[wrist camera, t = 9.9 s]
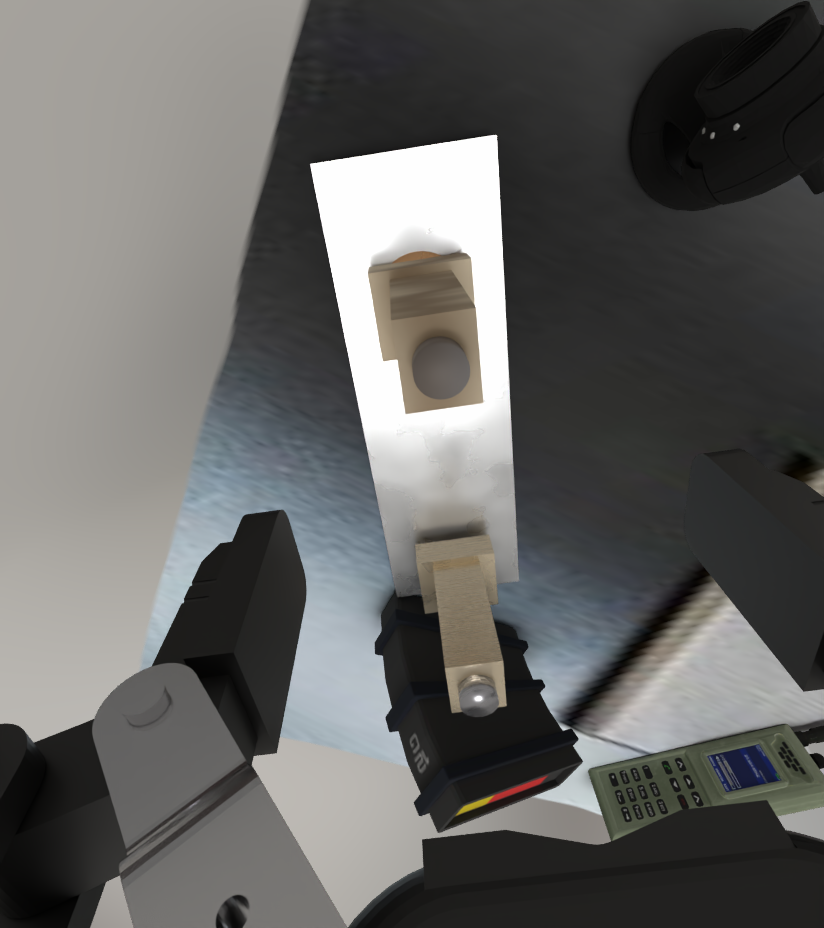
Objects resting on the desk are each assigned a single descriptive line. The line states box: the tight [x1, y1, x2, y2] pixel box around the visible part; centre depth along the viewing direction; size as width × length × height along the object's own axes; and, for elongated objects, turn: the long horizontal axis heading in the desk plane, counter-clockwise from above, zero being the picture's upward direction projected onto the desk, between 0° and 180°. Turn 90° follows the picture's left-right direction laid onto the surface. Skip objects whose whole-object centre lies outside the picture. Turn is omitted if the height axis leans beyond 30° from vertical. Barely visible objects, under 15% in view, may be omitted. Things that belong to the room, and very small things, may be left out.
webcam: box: [631, 1, 824, 211], centre depth 22 cm, size 8×8×10 cm
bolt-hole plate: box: [310, 135, 519, 717], centre depth 28 cm, size 9×28×13 cm, turn 8°
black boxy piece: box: [375, 592, 583, 833], centre depth 37 cm, size 4×13×15 cm, turn 64°
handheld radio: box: [588, 724, 824, 841], centre depth 49 cm, size 7×3×25 cm
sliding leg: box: [368, 252, 484, 414], centre depth 24 cm, size 5×4×12 cm
